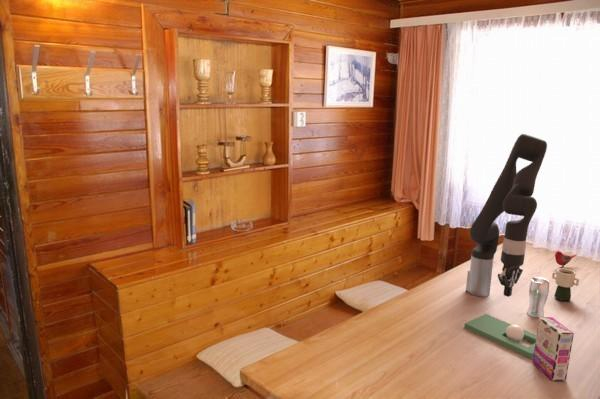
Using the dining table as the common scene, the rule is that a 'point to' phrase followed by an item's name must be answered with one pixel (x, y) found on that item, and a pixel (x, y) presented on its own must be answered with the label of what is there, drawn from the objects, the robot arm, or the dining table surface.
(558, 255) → the decorative bird figurine
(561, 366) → the candy bar box
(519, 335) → the ball
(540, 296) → the beer glass
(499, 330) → the putting mat
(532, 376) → the dining table surface
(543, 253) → the dining table surface
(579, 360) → the dining table surface
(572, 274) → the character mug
